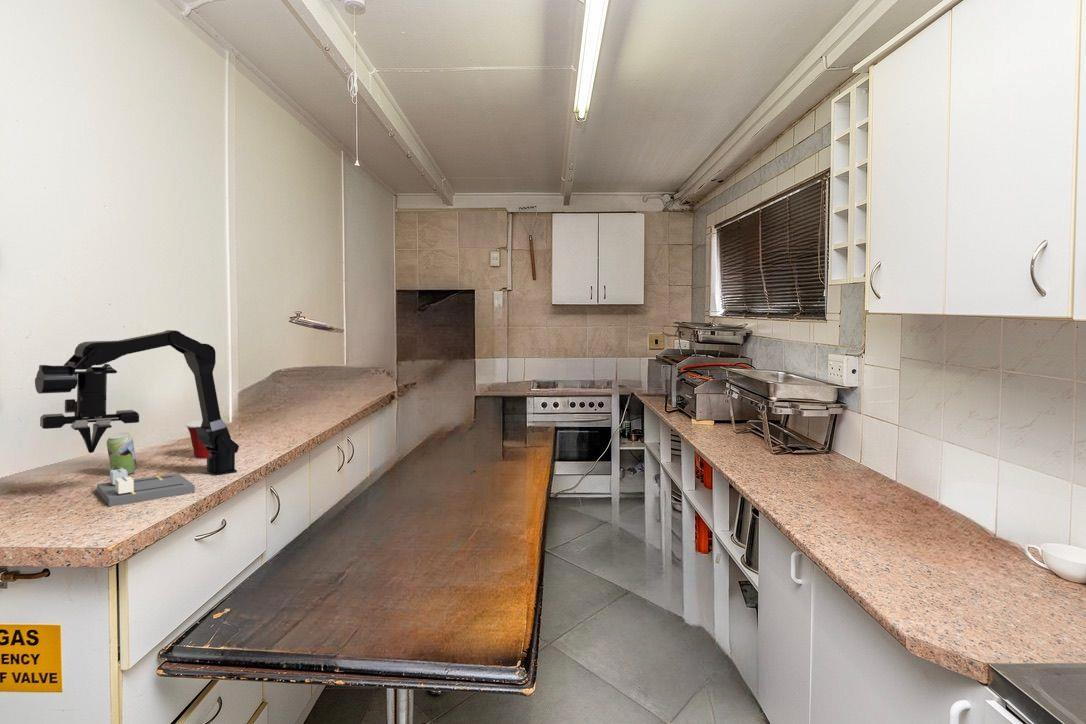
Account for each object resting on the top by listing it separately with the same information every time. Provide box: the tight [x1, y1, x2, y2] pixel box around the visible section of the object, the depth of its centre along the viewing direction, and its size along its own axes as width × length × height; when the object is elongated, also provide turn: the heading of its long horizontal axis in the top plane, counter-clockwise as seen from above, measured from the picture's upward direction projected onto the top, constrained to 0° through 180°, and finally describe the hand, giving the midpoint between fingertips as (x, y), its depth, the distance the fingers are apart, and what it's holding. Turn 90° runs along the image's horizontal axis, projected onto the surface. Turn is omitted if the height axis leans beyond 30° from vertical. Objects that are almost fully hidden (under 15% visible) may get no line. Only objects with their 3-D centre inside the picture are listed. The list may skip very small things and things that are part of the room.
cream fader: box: [115, 476, 134, 494], centre depth 135 cm, size 3×4×3 cm
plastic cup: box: [185, 419, 224, 459], centre depth 182 cm, size 11×11×12 cm
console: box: [96, 472, 196, 508], centre depth 142 cm, size 18×16×2 cm
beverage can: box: [106, 432, 138, 475], centre depth 157 cm, size 6×7×12 cm
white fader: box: [109, 469, 128, 485], centre depth 142 cm, size 3×4×3 cm
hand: (91, 452), depth 137 cm, fingers closed
